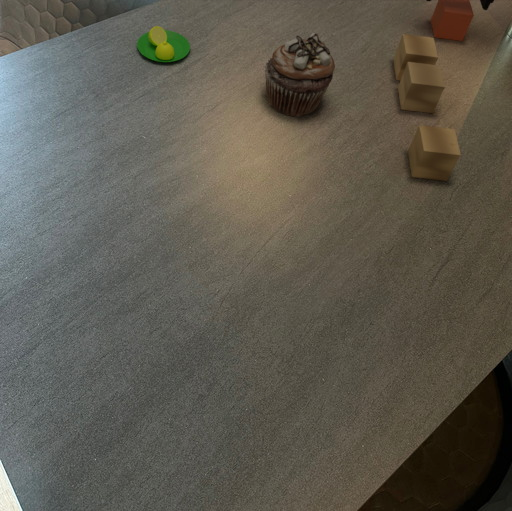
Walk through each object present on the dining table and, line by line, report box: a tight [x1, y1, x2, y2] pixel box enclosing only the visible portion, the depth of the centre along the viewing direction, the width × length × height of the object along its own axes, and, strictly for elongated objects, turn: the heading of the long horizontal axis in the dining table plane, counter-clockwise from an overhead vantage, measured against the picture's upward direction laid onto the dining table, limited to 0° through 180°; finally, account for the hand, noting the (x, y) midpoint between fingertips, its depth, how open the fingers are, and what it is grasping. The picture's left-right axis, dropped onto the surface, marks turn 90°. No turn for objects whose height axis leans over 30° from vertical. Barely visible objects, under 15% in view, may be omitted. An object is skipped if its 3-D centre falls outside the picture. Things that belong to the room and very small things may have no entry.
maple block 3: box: [407, 124, 461, 182], centre depth 86 cm, size 5×5×5 cm
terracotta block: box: [430, 0, 475, 42], centre depth 107 cm, size 5×5×5 cm
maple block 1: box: [392, 33, 439, 82], centre depth 98 cm, size 5×5×5 cm
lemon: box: [136, 25, 191, 63], centre depth 95 cm, size 8×8×3 cm
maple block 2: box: [397, 62, 446, 114], centre depth 94 cm, size 5×5×5 cm
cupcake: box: [264, 32, 336, 117], centre depth 89 cm, size 10×10×10 cm
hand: (455, 1), depth 104 cm, fingers open, 9 cm apart
